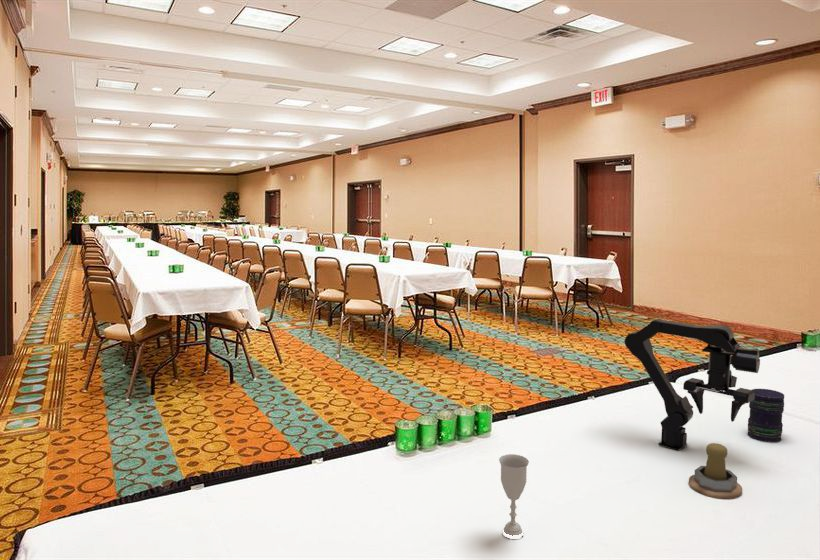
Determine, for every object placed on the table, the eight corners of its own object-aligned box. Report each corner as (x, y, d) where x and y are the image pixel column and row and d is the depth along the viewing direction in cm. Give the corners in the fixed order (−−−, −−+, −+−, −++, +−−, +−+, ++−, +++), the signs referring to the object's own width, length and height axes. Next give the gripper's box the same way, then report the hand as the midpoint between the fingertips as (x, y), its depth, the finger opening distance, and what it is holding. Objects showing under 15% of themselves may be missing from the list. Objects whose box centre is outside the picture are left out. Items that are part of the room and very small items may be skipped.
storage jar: (782, 435, 200) (785, 391, 198) (781, 445, 191) (784, 399, 190) (748, 429, 205) (750, 386, 203) (745, 438, 197) (748, 394, 195)
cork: (726, 490, 159) (728, 451, 158) (700, 485, 162) (703, 446, 161) (728, 482, 164) (730, 443, 163) (704, 476, 167) (706, 439, 166)
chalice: (495, 526, 144) (495, 454, 142) (522, 524, 145) (523, 453, 143) (502, 543, 137) (503, 468, 135) (531, 541, 138) (532, 466, 135)
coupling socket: (680, 486, 164) (680, 472, 163) (700, 472, 172) (701, 459, 172) (730, 504, 154) (731, 489, 154) (749, 488, 163) (750, 474, 162)
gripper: (763, 368, 179) (759, 418, 181) (699, 357, 193) (697, 404, 195) (748, 375, 172) (745, 428, 174) (683, 363, 186) (681, 412, 188)
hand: (716, 417), depth 183 cm, fingers open, 9 cm apart
